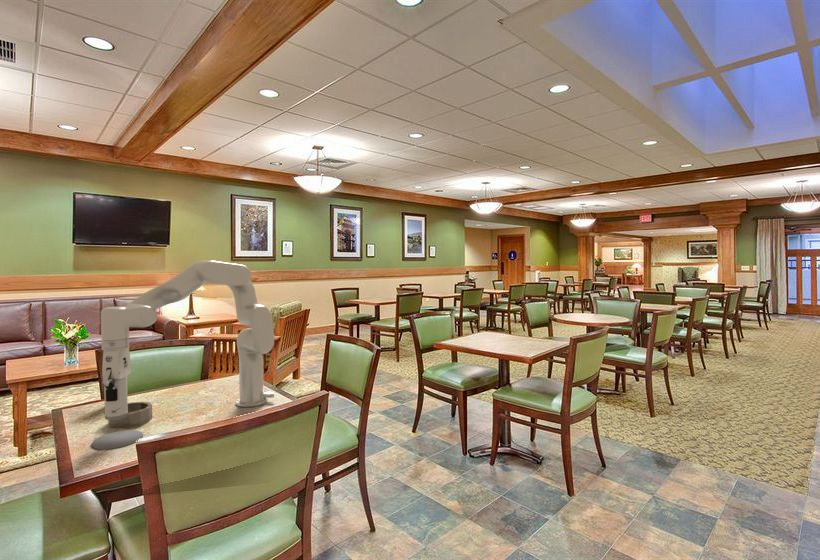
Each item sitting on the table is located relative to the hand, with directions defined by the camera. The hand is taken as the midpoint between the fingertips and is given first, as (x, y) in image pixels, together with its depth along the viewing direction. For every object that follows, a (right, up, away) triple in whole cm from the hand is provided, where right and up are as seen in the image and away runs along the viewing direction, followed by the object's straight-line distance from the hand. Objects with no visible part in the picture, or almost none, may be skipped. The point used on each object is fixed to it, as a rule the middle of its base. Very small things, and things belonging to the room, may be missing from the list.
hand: (116, 397), depth 141 cm
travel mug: (0, -7, 0) cm, 7 cm away
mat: (0, -15, +1) cm, 15 cm away
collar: (-7, -14, +18) cm, 23 cm away
